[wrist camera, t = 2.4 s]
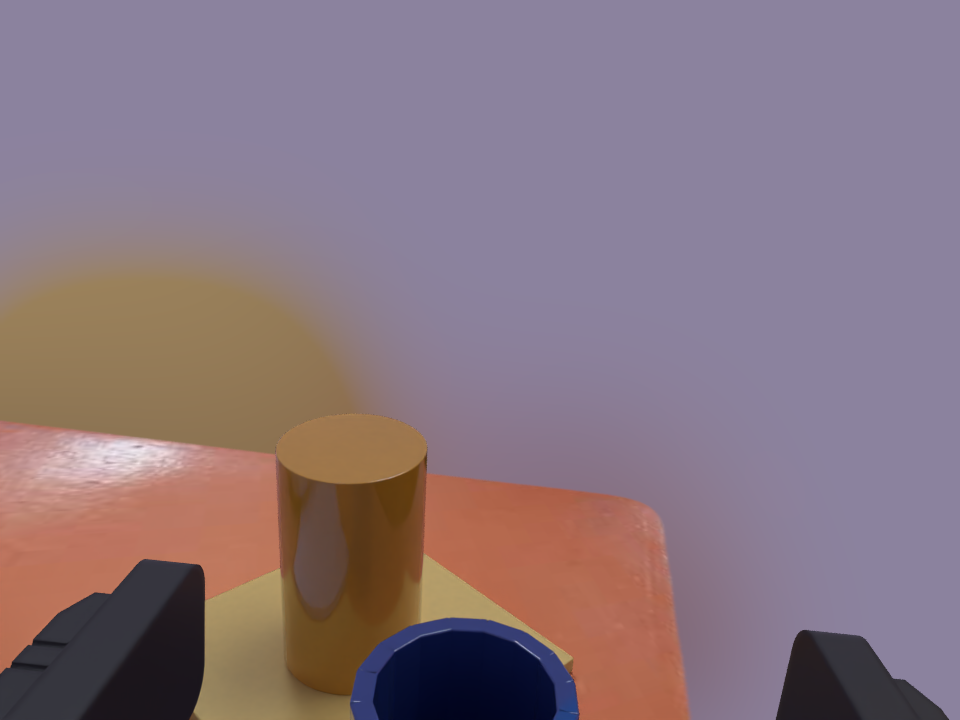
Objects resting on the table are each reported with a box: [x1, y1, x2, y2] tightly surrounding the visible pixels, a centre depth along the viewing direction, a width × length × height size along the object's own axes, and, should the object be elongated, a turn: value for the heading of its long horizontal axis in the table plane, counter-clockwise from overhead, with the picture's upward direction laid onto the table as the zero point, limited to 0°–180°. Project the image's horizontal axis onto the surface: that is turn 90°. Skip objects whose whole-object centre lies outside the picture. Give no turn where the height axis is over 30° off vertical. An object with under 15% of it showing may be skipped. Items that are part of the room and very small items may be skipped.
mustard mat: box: [190, 554, 573, 720], centre depth 36 cm, size 14×14×1 cm
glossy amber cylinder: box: [275, 414, 427, 695], centre depth 34 cm, size 6×6×10 cm
